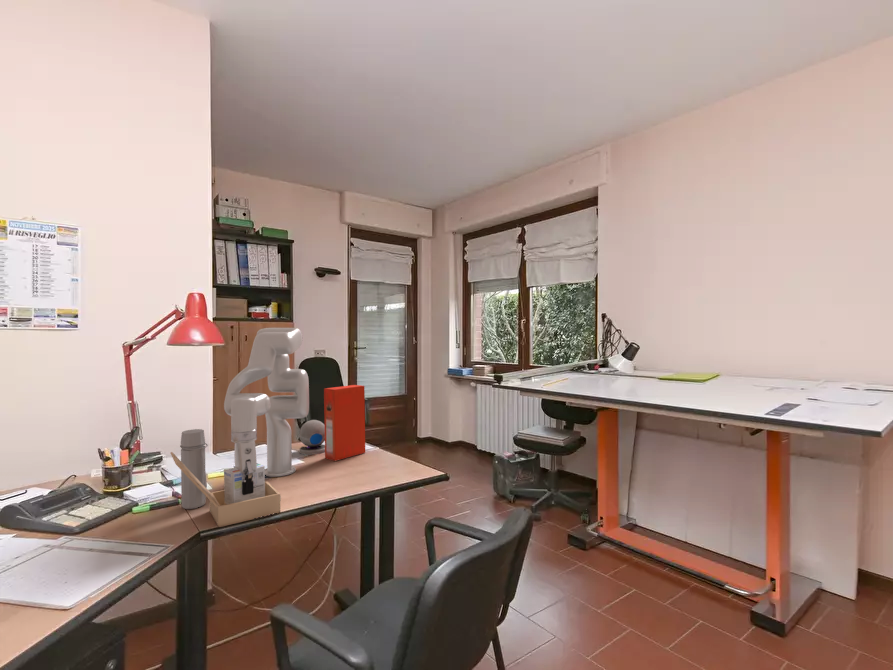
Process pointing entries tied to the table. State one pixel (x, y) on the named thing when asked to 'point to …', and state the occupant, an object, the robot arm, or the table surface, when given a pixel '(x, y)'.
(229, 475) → the light bulb box
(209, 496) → the lid
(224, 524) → the cardboard tray
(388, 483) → the table surface
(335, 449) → the file binder
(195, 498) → the water bottle
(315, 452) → the webcam
